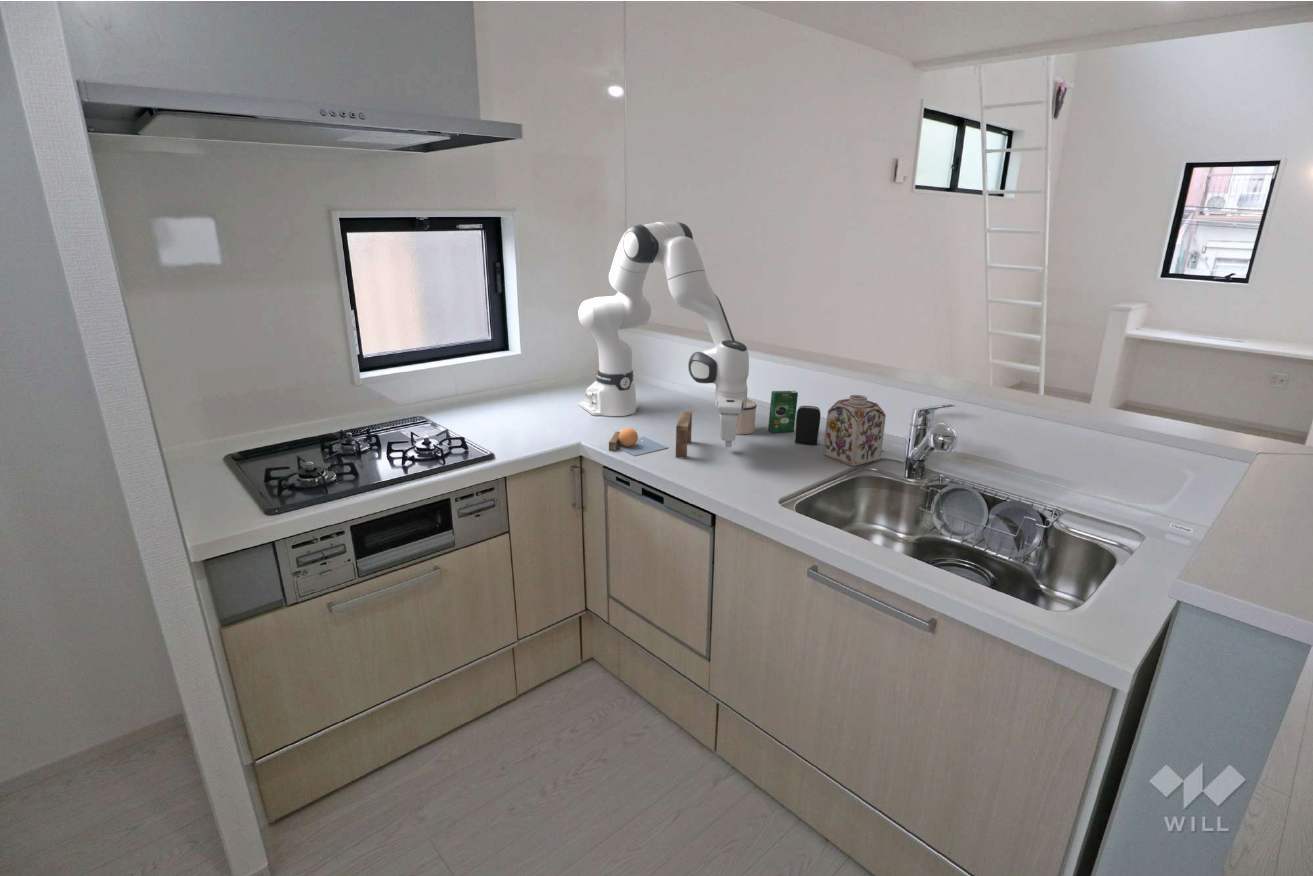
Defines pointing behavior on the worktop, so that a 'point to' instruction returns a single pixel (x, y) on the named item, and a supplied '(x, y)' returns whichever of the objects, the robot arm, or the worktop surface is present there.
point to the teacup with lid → (747, 419)
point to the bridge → (683, 433)
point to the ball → (628, 437)
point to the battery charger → (807, 425)
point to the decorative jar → (854, 431)
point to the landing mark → (642, 447)
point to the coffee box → (782, 411)
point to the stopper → (614, 442)
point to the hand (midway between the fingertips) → (728, 445)
